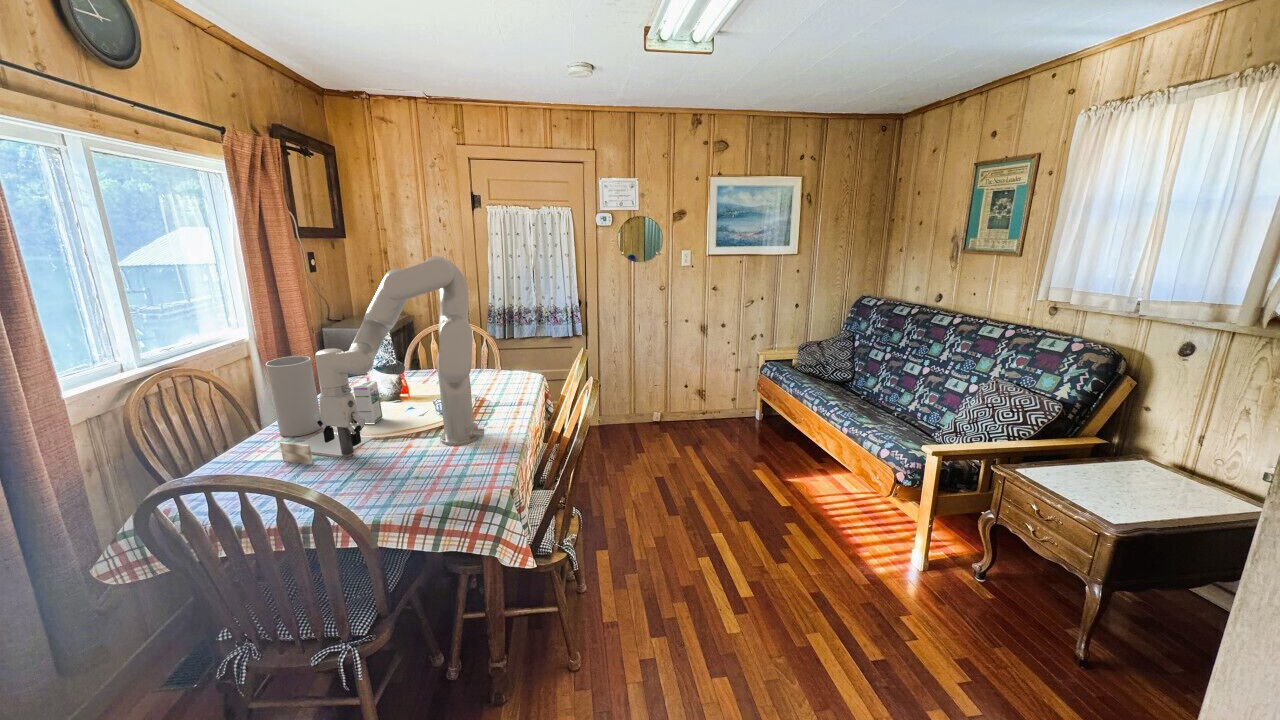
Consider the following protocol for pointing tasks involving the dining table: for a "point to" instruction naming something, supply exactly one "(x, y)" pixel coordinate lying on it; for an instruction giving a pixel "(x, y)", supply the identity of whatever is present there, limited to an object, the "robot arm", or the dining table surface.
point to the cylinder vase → (294, 395)
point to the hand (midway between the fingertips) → (343, 442)
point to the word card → (296, 453)
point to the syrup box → (368, 401)
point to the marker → (345, 442)
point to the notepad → (329, 445)
